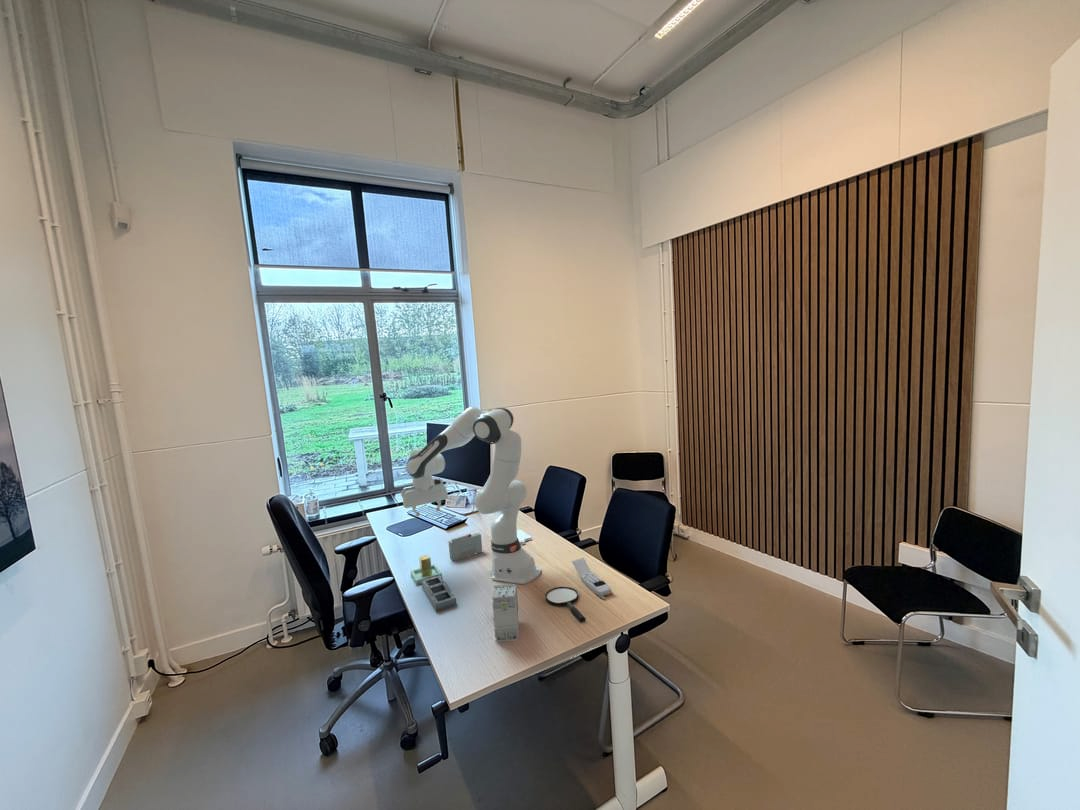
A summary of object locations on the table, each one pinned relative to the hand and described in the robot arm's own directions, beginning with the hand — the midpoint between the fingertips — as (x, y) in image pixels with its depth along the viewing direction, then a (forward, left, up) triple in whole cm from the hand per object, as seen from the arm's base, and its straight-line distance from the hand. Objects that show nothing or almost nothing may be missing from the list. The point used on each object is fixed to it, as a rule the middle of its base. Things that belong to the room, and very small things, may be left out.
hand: (428, 513), depth 199 cm
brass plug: (-7, +10, -24) cm, 27 cm away
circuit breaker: (-62, +23, -24) cm, 71 cm away
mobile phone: (-75, -16, -25) cm, 81 cm away
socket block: (-24, +19, -24) cm, 39 cm away
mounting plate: (-18, -40, -25) cm, 51 cm away
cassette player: (-8, -14, -25) cm, 29 cm away
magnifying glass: (-74, +1, -25) cm, 78 cm away
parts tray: (-7, +10, -24) cm, 27 cm away
